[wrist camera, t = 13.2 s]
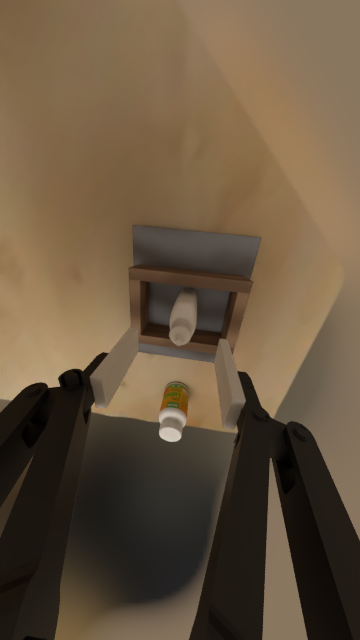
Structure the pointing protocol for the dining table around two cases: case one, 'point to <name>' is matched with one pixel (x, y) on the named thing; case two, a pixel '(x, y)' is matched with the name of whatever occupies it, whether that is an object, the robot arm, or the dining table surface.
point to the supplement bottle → (173, 411)
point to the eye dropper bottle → (183, 317)
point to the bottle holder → (194, 273)
